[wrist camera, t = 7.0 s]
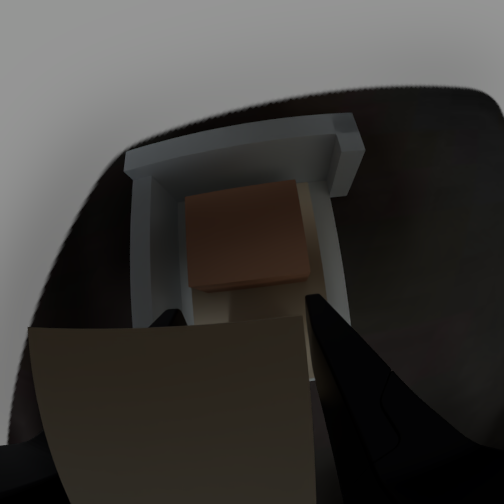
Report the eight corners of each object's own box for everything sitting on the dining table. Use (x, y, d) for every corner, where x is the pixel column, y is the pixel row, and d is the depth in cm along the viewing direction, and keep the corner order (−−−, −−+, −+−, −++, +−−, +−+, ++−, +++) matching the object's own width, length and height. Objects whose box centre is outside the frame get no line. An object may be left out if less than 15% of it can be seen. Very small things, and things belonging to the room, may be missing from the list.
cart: (327, 364, 14) (455, 529, 1) (215, 375, 14) (18, 494, 2) (305, 202, 16) (317, -32, 3) (202, 217, 16) (54, 43, 4)
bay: (372, 368, 13) (406, 389, 9) (174, 387, 15) (131, 409, 10) (338, 164, 16) (351, 112, 12) (163, 190, 18) (126, 151, 13)
